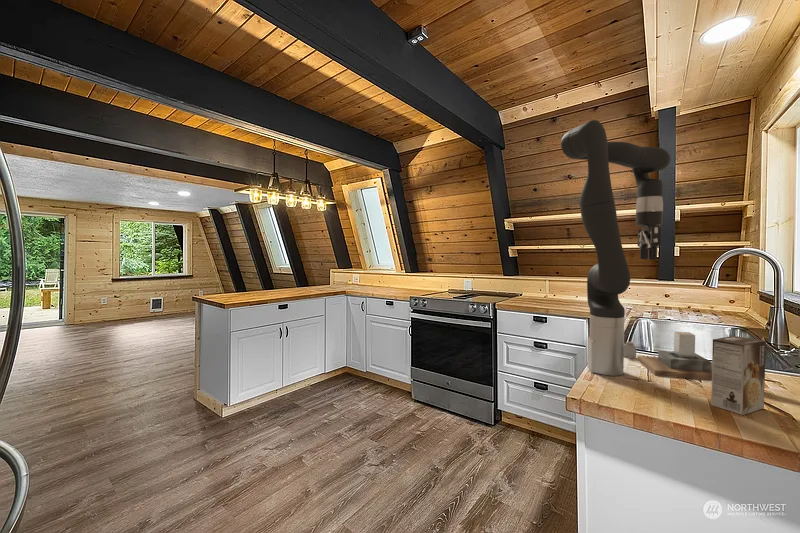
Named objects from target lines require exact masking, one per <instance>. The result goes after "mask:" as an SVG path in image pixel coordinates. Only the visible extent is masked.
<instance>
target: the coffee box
mask: <svg viewBox="0 0 800 533" xmlns="http://www.w3.org/2000/svg"><path fill="white" fill-rule="evenodd" d="M766 343H767V341H766V340H762V339H756V338H751V337H750V338H749V337H744V336H738V335H731V336H725V337H720V338H713V339H712V355H711V356H712V360H711V362H712V380H711V400H710V401H711V403H710V404H711V406H713V407H717V408H720V409H721V410H726V411H729V412H731V413H735V414H738V415H741V416H745V415H748V414H751V413H754V412H757V411H760V410H762V409H764V408H765V388H766V387H765V386H766V384H765V383H766V382H765V380H766V348H767V345H766Z"/></svg>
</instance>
